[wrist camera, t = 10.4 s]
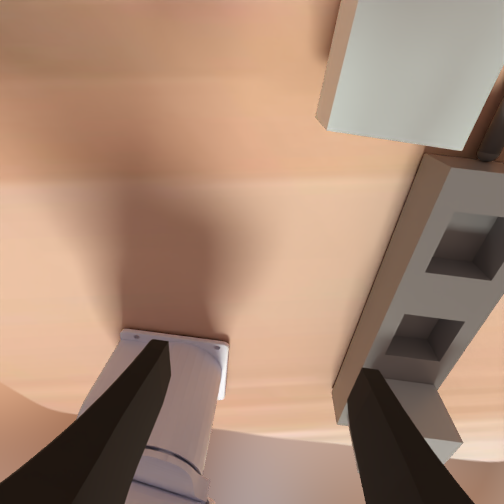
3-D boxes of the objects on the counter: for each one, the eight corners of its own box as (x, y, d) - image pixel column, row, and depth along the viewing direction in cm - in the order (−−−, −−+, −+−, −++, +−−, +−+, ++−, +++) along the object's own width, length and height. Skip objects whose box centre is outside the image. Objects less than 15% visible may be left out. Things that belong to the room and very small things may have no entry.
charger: (311, 112, 16) (326, 130, 11) (339, -20, 13) (378, -81, 8) (402, 126, 16) (461, 150, 11) (450, -3, 13) (560, -53, 8)
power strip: (331, 392, 28) (346, 479, 22) (513, -77, 12) (757, -236, 6) (395, 400, 28) (427, 490, 22) (666, -61, 12) (1075, -207, 6)
